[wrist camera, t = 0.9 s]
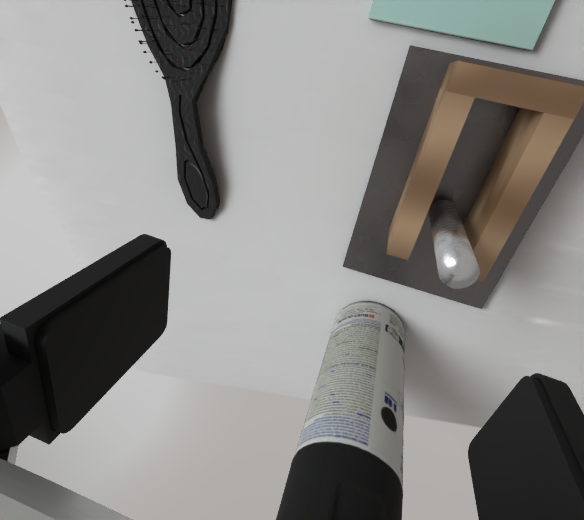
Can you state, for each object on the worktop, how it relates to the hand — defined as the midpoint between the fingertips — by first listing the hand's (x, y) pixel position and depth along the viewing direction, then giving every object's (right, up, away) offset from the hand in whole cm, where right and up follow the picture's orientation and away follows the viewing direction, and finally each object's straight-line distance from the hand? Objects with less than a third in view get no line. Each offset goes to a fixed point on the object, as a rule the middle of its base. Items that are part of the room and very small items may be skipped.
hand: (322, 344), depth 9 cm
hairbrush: (-9, +18, +19) cm, 27 cm away
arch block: (+11, +9, +16) cm, 21 cm away
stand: (+11, +7, +17) cm, 22 cm away
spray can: (+7, -4, +25) cm, 26 cm away
